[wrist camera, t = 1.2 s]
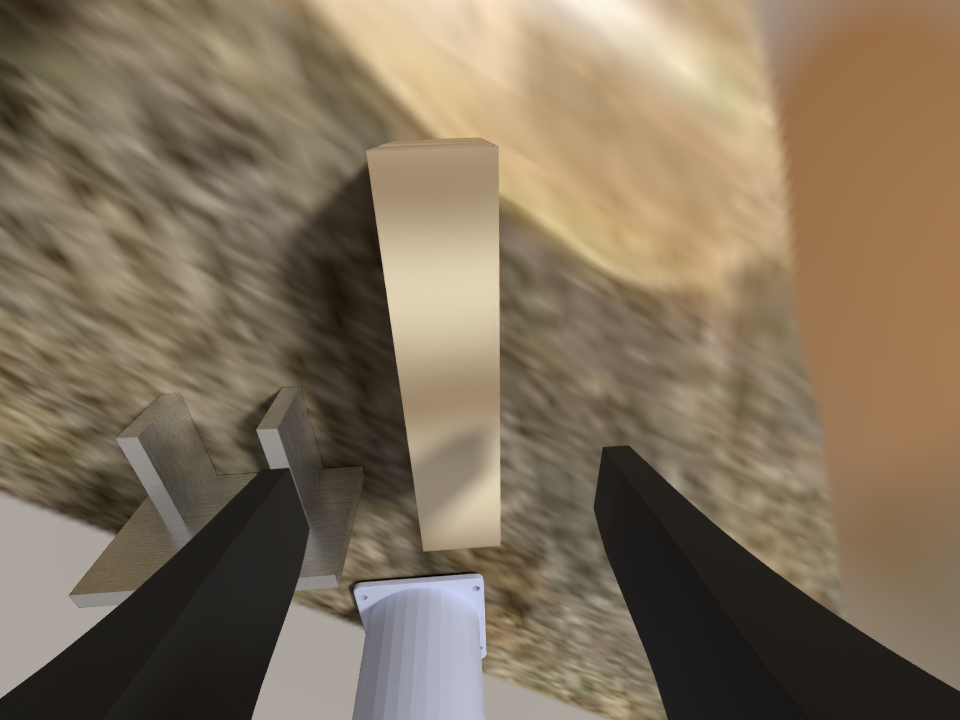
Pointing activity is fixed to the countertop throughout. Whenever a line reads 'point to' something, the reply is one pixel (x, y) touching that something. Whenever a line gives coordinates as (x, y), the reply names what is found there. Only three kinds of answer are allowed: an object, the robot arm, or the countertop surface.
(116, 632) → the robot arm
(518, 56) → the countertop surface
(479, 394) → the rail
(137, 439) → the bracket
